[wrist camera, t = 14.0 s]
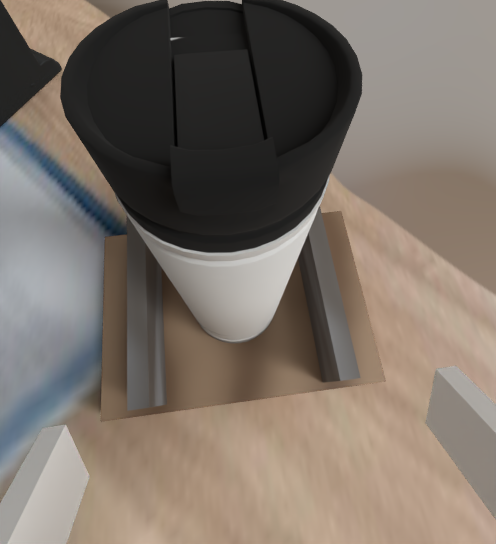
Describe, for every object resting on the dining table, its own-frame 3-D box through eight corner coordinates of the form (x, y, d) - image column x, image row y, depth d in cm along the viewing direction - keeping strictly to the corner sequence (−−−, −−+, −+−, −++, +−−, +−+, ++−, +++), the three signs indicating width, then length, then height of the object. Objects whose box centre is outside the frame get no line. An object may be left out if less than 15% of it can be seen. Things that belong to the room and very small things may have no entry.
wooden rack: (114, 418, 24) (66, 429, 18) (115, 249, 29) (78, 207, 22) (372, 382, 25) (417, 379, 19) (333, 225, 30) (358, 178, 24)
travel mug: (197, 353, 24) (15, 210, 5) (191, 269, 26) (53, -56, 7) (281, 343, 24) (425, 172, 5) (269, 260, 26) (337, -70, 7)
